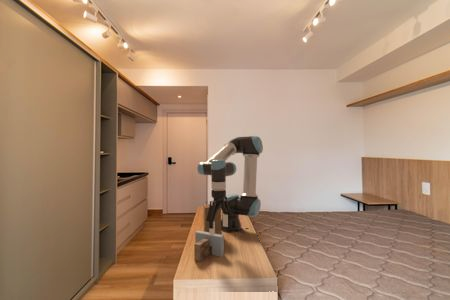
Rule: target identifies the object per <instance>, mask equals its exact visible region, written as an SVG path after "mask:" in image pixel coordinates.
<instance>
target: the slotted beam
mask: <svg viewBox="0 0 450 300" xmlns="http://www.w3.org/2000/svg"><path fill="white" fill-rule="evenodd" d="M215 234H220V235H223V232H222V230H221V231H216V232H215ZM193 250H194V261H195V262H201V261H202V260H204V259H205V258H207V257H208V256H209V255H212V246H209V239H205V238H204V239H202V240H201V241H199V242H197V243H194V249H193Z"/></svg>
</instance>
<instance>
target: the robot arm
mask: <svg viewBox="0 0 450 300" xmlns="http://www.w3.org/2000/svg"><path fill="white" fill-rule="evenodd" d="M263 151H264V147H263V141H262V139H261V137H260V136H257V135H256V136H255V135H249V136H237V137H234V138H232V139H230V140H229V141H227V142H225V144H224V145H223V147H222V148H221V149H219V151H217V152H216V153H215V154H214V155H213V156H211V157H210V158H209V159H207V160H206V161H201V162H199V163H198V165H197V173H198V174H199V175H203V176H210V177H211V179H210V180H211V192H210V194H211V198H213V200H210V201H209V204H210V206H209V211H208V215H207V219H206V221H209V234H210V235H215V222H214V219H215V216H216V213H217V210H219V208H220V207H221V232H222V231H223V232H226V233H227V232H228V233H232V232H233V233H235V232H238V231H241V230H242V223H241V220H240V217H239V216H244V217H245V216H247V217H257V215H259V212H260V210H261V204H262V203H261V199H259V196H258V194H257V174H258V173H257V172H258V171H257V170H258V158H259V157H260V155H261V154H262V153H263ZM236 154H242V156H243V158H244V165H243V166H244V167H243V185H242V187H243V189H242V193H241V194H240V195H239V194H237V193H236V194H228V195H227V190H226V189H227V183H226V182H227V180H226V177H232V176H234V175H235V174H236V172H237V166H236V164H235V163H234V162H232V161H228V159H229V158H230V157H231V156H234V155H236ZM226 161H227V162H226Z"/></svg>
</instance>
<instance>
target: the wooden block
mask: <svg viewBox="0 0 450 300" xmlns="http://www.w3.org/2000/svg"><path fill="white" fill-rule="evenodd" d="M209 206H210V203H205V204H203V231H204V232H209V221H206V219H207V215H208V211H209ZM221 220H222V209H221V207H220V208H219V210H217V213H216V216H215V219H214V222H215V232H216V231H221V232H222V230H221Z"/></svg>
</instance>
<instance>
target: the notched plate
mask: <svg viewBox="0 0 450 300" xmlns="http://www.w3.org/2000/svg"><path fill="white" fill-rule="evenodd" d="M194 233H195V234H194V236H195V240H194V242H195V243H197V242H199V241H201V240H202V239H204V238H205V239H209V246H212V253H211V255H212V256H216V257H223V256H224V255H225V235H224V234H222V235H220V234H215V235H210V234H209V232H204V230H197V231H195V232H194ZM195 243H194V244H195Z"/></svg>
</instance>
